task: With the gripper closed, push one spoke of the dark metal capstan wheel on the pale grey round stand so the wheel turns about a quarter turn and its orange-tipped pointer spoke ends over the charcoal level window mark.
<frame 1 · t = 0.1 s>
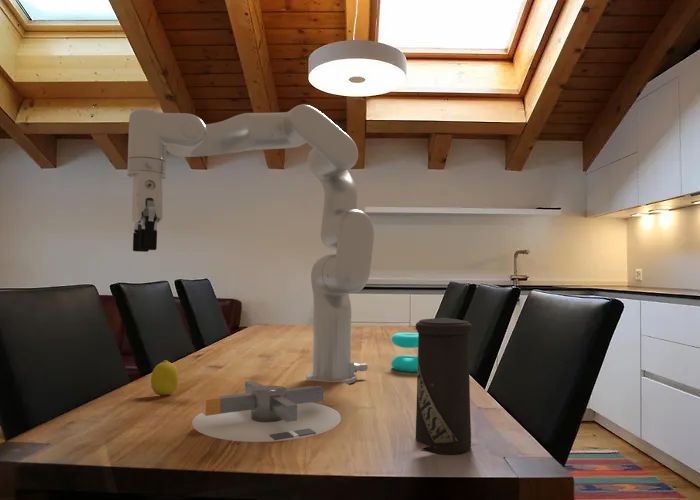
hand: (144, 250, 106), 31 cm above the table, fingers open, 9 cm apart
container: (443, 447, 79), on the table
donuts: (408, 370, 144), on the table
lemon: (164, 399, 107), on the table
stand: (268, 423, 90), on the table
capstan: (266, 403, 90), point 4 cm above the table, hinge at 0.0°
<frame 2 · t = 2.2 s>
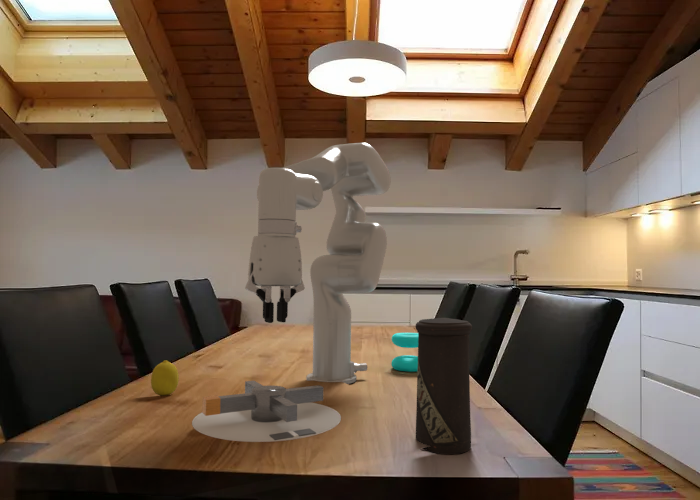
hand: (275, 321, 101), 17 cm above the table, fingers closed
nothing on the table moved.
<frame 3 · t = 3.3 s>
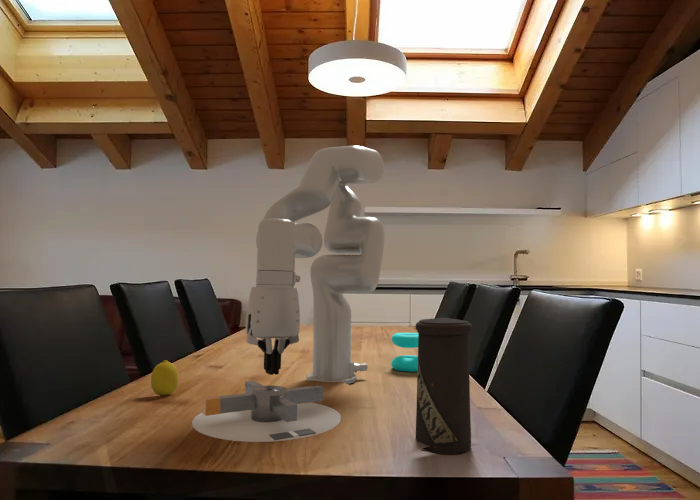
hand: (272, 373, 100), 7 cm above the table, fingers closed
nothing on the table moved.
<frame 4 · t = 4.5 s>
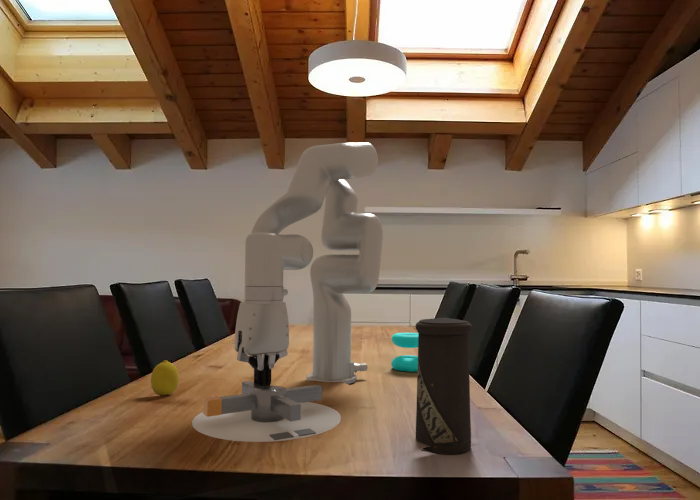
hand: (262, 389, 99), 4 cm above the table, fingers closed
capstan: (266, 403, 90), point 4 cm above the table, hinge at 3.6°, touching gripper
everything else where it was.
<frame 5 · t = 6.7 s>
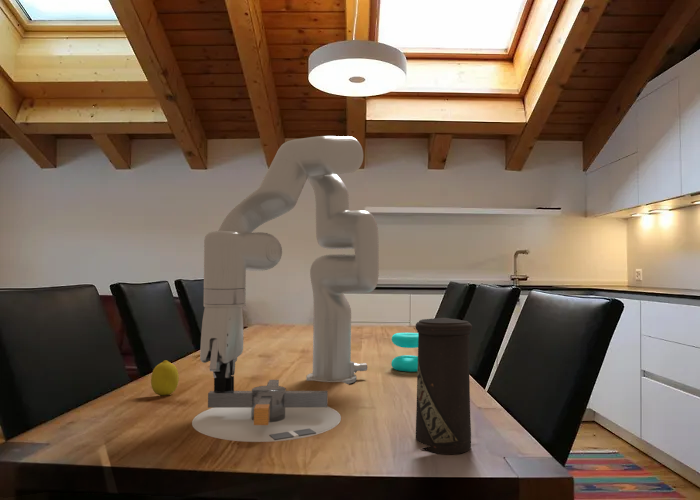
hand: (223, 398, 93), 4 cm above the table, fingers closed
capstan: (268, 403, 90), point 4 cm above the table, hinge at 63.4°, touching gripper
everything else where it was.
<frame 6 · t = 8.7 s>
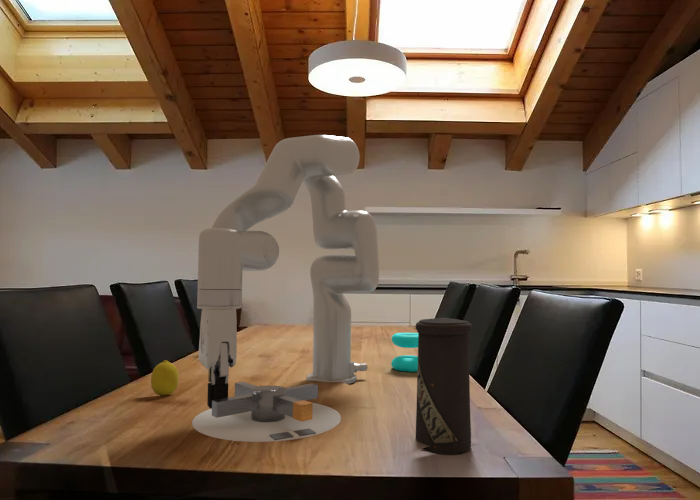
hand: (217, 406, 87), 4 cm above the table, fingers closed
capstan: (269, 403, 90), point 4 cm above the table, hinge at 102.0°
everything else where it was.
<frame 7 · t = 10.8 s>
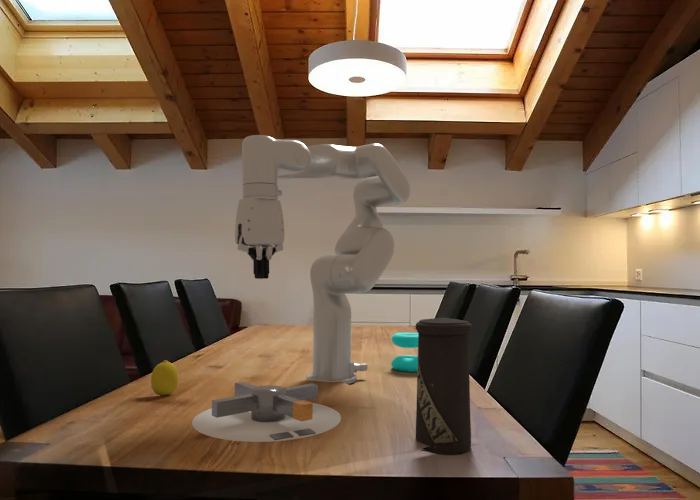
hand: (261, 278, 110), 26 cm above the table, fingers closed
nothing on the table moved.
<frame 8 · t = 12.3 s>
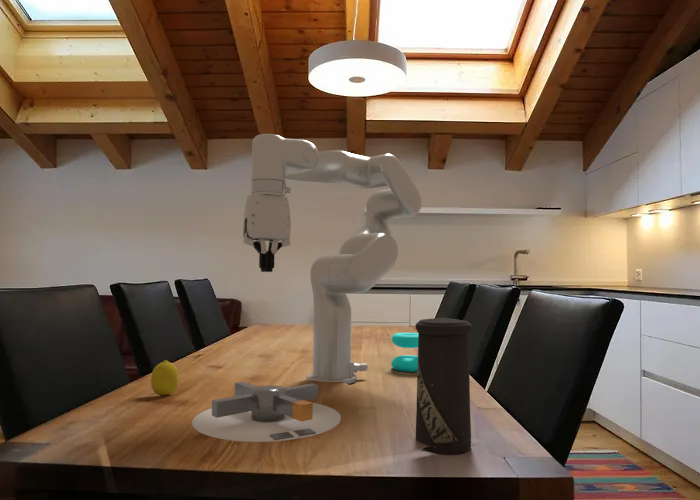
hand: (266, 271, 113), 27 cm above the table, fingers closed
nothing on the table moved.
at the end: capstan at +102° (first picture: +0°); capstan touching nothing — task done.
